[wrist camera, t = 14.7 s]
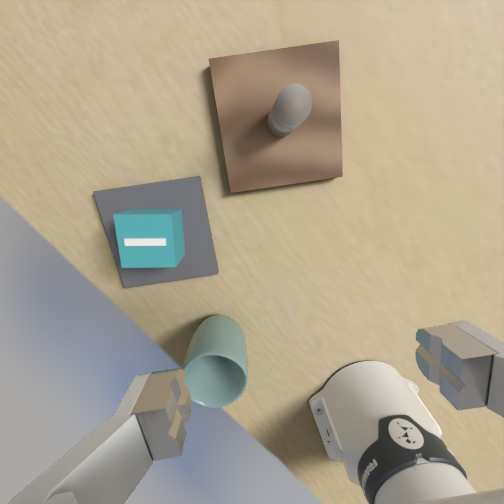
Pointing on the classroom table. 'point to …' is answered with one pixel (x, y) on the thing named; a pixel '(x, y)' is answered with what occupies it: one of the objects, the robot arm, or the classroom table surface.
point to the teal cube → (150, 237)
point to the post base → (258, 98)
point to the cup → (216, 362)
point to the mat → (163, 197)
